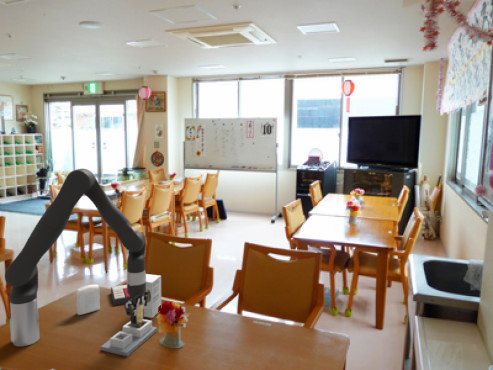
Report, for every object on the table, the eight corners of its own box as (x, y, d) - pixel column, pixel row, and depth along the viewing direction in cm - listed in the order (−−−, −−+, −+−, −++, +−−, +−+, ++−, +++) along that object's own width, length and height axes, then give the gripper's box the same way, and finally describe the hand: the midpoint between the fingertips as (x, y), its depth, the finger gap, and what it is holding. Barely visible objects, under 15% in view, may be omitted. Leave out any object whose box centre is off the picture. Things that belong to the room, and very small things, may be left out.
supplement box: (133, 315, 175) (132, 280, 173) (143, 306, 184) (142, 273, 182) (153, 318, 173) (152, 282, 171) (162, 309, 182) (161, 275, 180)
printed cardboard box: (113, 298, 185) (110, 285, 198) (114, 307, 186) (111, 293, 199) (137, 295, 189) (132, 282, 203) (137, 303, 190) (133, 290, 204)
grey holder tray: (101, 350, 147) (100, 339, 147) (132, 325, 166) (132, 315, 166) (127, 356, 144) (127, 345, 143) (157, 330, 162) (156, 320, 162)
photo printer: (97, 306, 184) (96, 281, 182) (101, 309, 181) (100, 284, 179) (75, 313, 177) (74, 287, 175) (79, 316, 174) (78, 290, 172)
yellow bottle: (129, 329, 158) (129, 301, 156) (136, 324, 162) (135, 297, 160) (139, 331, 156) (138, 303, 155) (145, 326, 161) (144, 299, 159)
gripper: (139, 273, 164) (139, 311, 167) (117, 286, 151) (118, 327, 153) (154, 276, 162) (154, 314, 164) (133, 288, 148) (134, 330, 151)
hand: (137, 320), depth 159 cm, fingers closed on yellow bottle, 4 cm apart
